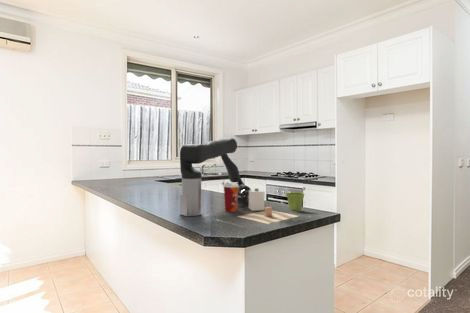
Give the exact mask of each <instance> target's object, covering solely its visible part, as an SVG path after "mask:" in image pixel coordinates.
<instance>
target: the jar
mask: <svg viewBox="0 0 470 313" xmlns="http://www.w3.org/2000/svg"><path fill="white" fill-rule="evenodd" d="M264 211H265V217H272V211H273V206H264Z"/></svg>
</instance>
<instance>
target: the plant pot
mask: <svg viewBox="0 0 470 313" xmlns="http://www.w3.org/2000/svg"><path fill="white" fill-rule="evenodd" d="M285 195H286V197H287V204H288V211H289V210H291V211H295V212H302V208H303V202H304V201H303V200H304V197H305V193H303V192H286V193H285Z"/></svg>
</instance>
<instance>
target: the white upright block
mask: <svg viewBox="0 0 470 313" xmlns="http://www.w3.org/2000/svg"><path fill="white" fill-rule="evenodd" d="M265 192H266V191H264V190H261V189H259V188H256V187H255V188H254V189H251V190H249V198H248V209H249V210H250V211H265Z"/></svg>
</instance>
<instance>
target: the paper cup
mask: <svg viewBox="0 0 470 313" xmlns="http://www.w3.org/2000/svg"><path fill="white" fill-rule="evenodd" d="M236 183H237V182H227V183H223V189H224V190H223V196H224V211H225V212H226V213H227V212H228V213H229V212H233V213H234V212H237V210H238V197H239V196H238V187H239V186H238V184H236Z"/></svg>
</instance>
